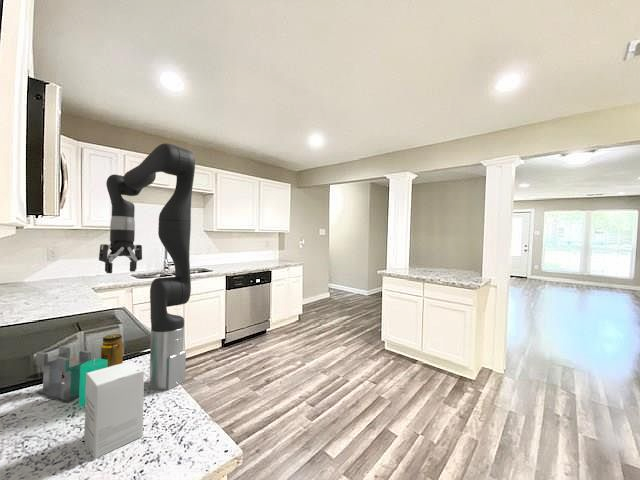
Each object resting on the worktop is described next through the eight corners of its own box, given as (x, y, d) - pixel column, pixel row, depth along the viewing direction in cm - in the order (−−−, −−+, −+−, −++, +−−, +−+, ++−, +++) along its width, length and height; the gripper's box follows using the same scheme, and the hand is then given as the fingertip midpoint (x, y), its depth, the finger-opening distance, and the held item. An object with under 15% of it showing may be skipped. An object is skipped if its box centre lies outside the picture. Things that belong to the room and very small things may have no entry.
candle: (90, 408, 74) (92, 362, 74) (72, 405, 75) (74, 360, 75) (112, 396, 79) (113, 354, 80) (95, 393, 81) (96, 352, 81)
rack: (90, 393, 81) (91, 352, 81) (64, 404, 75) (65, 360, 75) (60, 384, 86) (62, 345, 86) (34, 394, 80) (36, 352, 80)
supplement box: (130, 420, 69) (132, 359, 69) (143, 436, 63) (145, 370, 63) (82, 440, 62) (85, 371, 62) (93, 460, 56) (95, 384, 56)
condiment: (94, 373, 93) (95, 337, 94) (119, 363, 101) (120, 330, 102) (108, 377, 91) (109, 340, 91) (133, 367, 99) (134, 333, 99)
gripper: (109, 227, 96) (107, 274, 96) (147, 230, 110) (146, 271, 109) (95, 227, 99) (93, 273, 98) (134, 230, 112) (133, 270, 112)
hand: (121, 272), depth 104 cm, fingers open, 8 cm apart
